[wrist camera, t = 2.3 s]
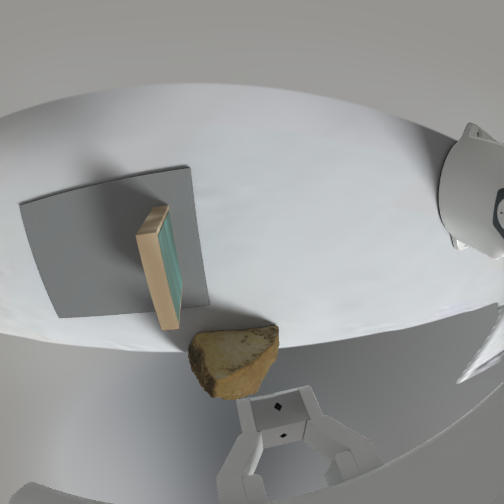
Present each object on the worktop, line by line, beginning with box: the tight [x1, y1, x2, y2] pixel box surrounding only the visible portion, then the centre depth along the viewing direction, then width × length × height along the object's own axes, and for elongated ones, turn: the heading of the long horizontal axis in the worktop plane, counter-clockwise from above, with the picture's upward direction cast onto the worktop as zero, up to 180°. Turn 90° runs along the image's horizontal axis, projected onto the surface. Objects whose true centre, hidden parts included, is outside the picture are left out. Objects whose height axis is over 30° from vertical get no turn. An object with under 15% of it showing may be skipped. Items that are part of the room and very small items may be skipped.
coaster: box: [136, 205, 183, 331], centre depth 21 cm, size 2×8×7 cm, turn 3°
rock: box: [188, 326, 279, 400], centre depth 28 cm, size 11×9×10 cm
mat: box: [20, 168, 210, 318], centre depth 24 cm, size 19×14×1 cm
